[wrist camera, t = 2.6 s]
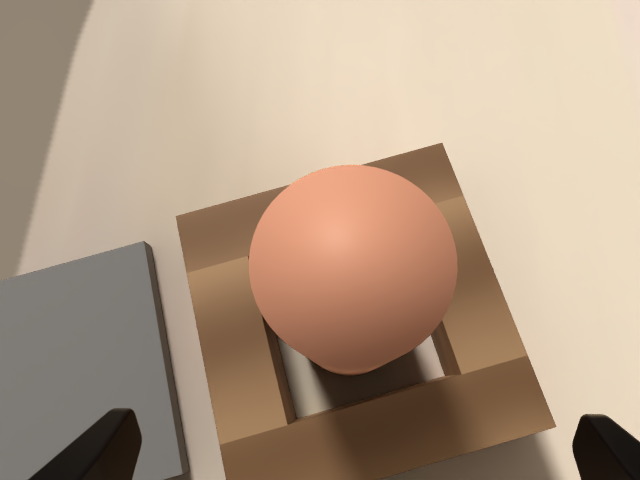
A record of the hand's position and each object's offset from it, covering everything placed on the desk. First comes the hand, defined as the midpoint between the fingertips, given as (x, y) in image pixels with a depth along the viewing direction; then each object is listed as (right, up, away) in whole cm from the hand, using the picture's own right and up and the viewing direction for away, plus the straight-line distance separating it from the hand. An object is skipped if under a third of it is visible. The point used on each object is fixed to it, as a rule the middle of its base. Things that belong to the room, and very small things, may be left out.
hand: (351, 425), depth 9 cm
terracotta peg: (+1, 0, +11) cm, 11 cm away
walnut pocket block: (+1, 0, +11) cm, 11 cm away
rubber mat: (-12, -2, +11) cm, 17 cm away
